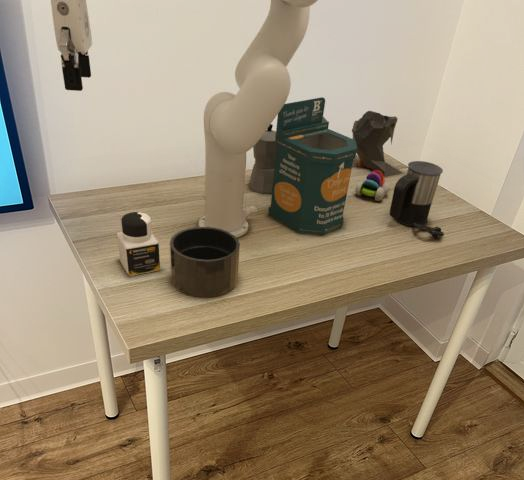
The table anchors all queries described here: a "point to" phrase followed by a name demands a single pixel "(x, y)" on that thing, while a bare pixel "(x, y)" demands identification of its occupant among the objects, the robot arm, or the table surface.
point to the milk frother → (416, 196)
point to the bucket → (204, 261)
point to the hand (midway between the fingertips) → (78, 83)
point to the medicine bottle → (138, 244)
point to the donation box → (310, 169)
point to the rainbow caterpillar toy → (373, 186)
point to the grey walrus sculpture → (374, 141)
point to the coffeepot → (264, 163)
